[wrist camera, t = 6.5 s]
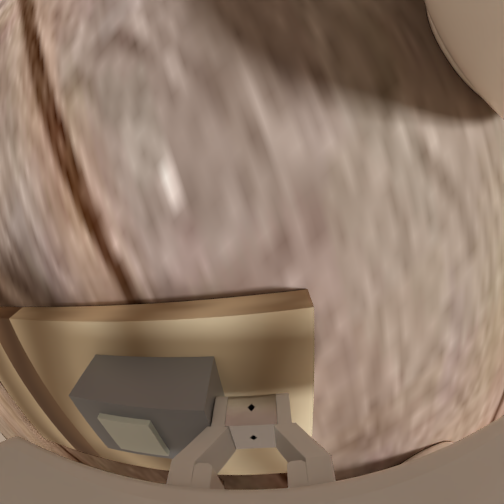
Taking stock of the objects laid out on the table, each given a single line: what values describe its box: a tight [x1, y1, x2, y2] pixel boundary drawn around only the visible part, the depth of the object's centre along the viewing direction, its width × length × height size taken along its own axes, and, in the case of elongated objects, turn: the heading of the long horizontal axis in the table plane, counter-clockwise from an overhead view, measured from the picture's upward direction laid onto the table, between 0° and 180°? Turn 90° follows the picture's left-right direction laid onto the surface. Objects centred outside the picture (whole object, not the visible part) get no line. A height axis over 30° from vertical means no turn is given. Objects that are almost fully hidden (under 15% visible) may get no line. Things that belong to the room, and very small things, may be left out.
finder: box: [68, 354, 225, 459], centre depth 10 cm, size 6×4×3 cm, turn 97°
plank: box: [0, 289, 314, 475], centre depth 14 cm, size 24×14×2 cm, turn 97°
